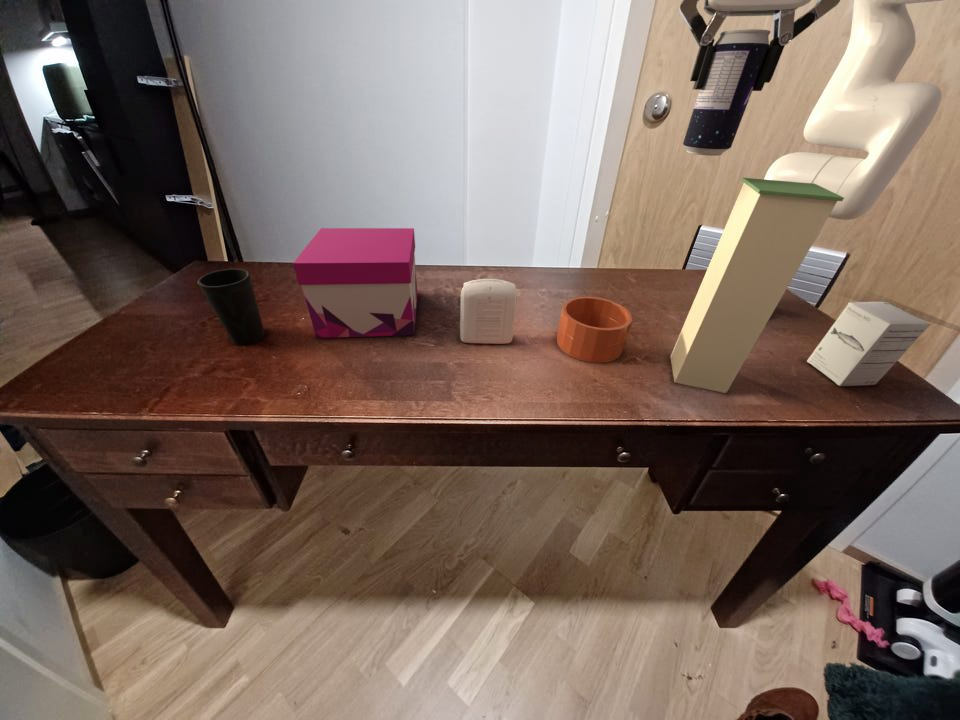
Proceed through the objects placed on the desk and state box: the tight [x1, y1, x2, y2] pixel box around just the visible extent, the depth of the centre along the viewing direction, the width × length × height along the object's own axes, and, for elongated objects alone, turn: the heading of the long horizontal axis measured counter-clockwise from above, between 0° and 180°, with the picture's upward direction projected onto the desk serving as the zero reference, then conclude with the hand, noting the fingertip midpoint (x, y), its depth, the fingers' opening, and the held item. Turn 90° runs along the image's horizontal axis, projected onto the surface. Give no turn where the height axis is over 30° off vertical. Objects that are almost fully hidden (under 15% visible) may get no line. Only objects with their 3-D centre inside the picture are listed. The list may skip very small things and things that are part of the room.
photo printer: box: [459, 278, 518, 345], centre depth 67 cm, size 10×4×12 cm, turn 92°
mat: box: [741, 177, 844, 201], centre depth 46 cm, size 9×9×1 cm
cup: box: [197, 268, 266, 346], centre depth 66 cm, size 8×8×12 cm
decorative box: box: [292, 227, 418, 339], centre depth 73 cm, size 19×19×15 cm
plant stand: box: [669, 182, 837, 394], centre depth 55 cm, size 8×8×30 cm
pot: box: [556, 296, 633, 364], centre depth 69 cm, size 12×12×7 cm
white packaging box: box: [806, 301, 932, 387], centre depth 62 cm, size 7×7×13 cm
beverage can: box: [682, 28, 771, 157], centre depth 45 cm, size 6×6×12 cm
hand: (726, 88), depth 44 cm, fingers closed on beverage can, 5 cm apart
